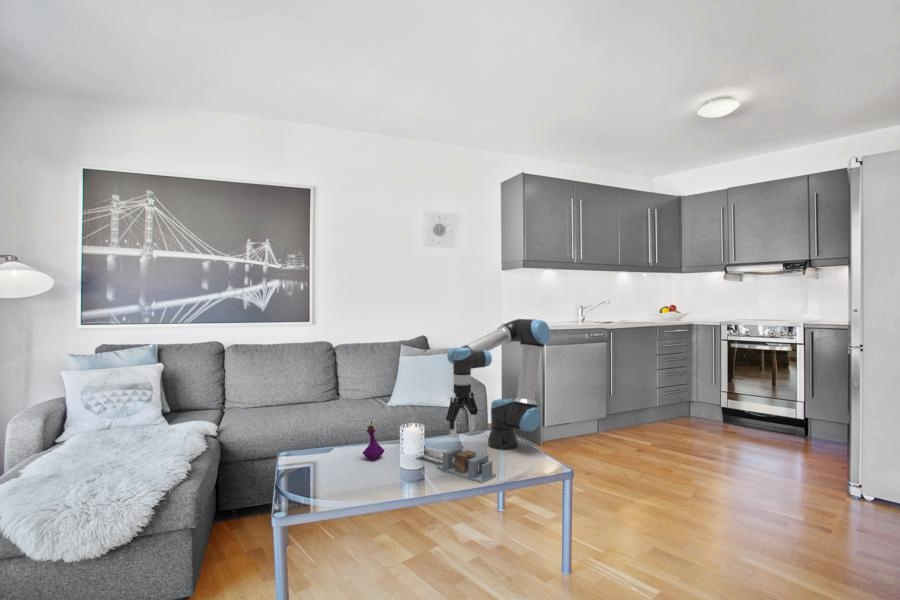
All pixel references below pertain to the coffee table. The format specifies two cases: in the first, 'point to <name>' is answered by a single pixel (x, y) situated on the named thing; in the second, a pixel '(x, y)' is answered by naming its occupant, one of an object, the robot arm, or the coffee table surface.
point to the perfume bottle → (373, 445)
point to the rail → (472, 471)
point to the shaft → (436, 455)
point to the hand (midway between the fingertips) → (462, 432)
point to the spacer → (463, 460)
